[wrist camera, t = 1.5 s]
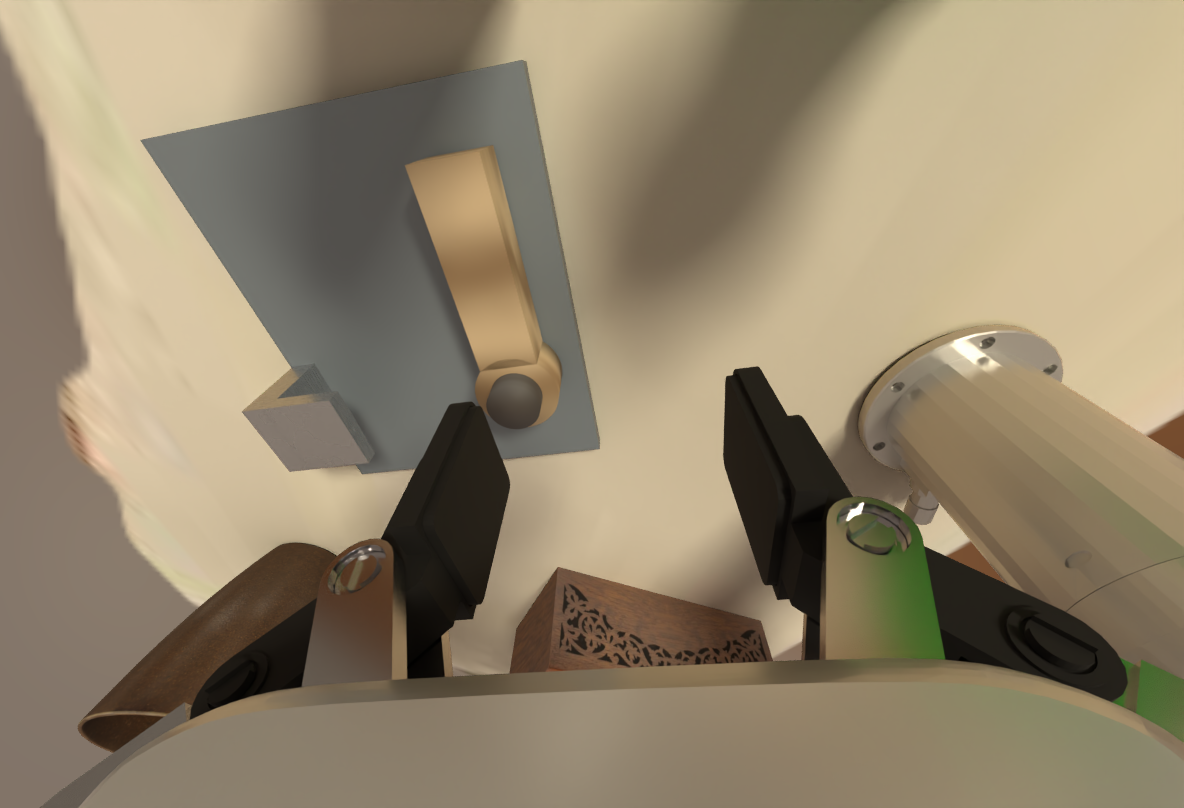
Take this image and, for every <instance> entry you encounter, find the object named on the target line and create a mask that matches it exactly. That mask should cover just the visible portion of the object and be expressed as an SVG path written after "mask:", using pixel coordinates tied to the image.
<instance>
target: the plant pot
mask: <svg viewBox="0 0 1184 808" xmlns="http://www.w3.org/2000/svg"><path fill="white" fill-rule="evenodd" d="M336 557H337V556H335V555H334V554H332V553H331V552H329V551H327V550H325V549H322V548H320V547H317V546H313V545H309V544H303V543H288V544H283V545H280V546H278V547H276V548H275V549H273V550H272V551H270V552H269V553H268V554H266V555H265V556H263V557H262V558H261V559H259V560H258V561H257V562H255V563H254V564H252V565H251V566H250V567H248V568H247V569H246V570H245V571H243V572H242V573H241V574H239V575H238V576H237V577H235V578H234V579H233V580H232V581H230V582H229V583H228V584H227V585H225V586H224V587H223V588H222V589H220V590H219V591H218V592H217V593H216V594H214V595H213V596H212V597H211V598H209V599H208V600H207V601H206V602H205V603H204V604H202V605H201V606H200V607H199V608H198V609H196V610H195V611H194V612H193V613H192V614H191V615H190V616H189V617H187V618H186V619H185V620H184V621H183V622H182V623H181V624H180V625H178V626H177V627H176V628H175V629H174V630H173V631H172V632H171V633H170V634H169V635H167V636H166V637H165V638H164V639H163V640H162V641H161V642H160V643H159V644H158V645H157V646H156V647H155V648H154V649H153V650H151V651H150V652H149V653H148V654H147V655H146V656H145V657H144V658H143V659H142V660H141V661H140V662H139V663H138V664H137V665H136V666H135V667H134V668H133V669H132V670H131V671H130V672H129V673H128V674H127V675H126V676H125V677H124V678H123V679H122V680H121V681H120V682H119V683H118V684H117V685H116V686H115V687H114V688H113V689H112V690H111V691H110V692H109V693H108V694H107V695H106V696H105V697H104V698H103V699H102V700H101V701H100V702H99V703H98V704H97V705H96V706H95V707H94V708H93V709H92V710H91V711H90V712H89V713H88V714H87V715H86V716H85V717H84V718H83V719H82V720H81V721H80V722H79V724H78V731H79V732H80V734H81V735H82V736H83V737H84V738H85V739H87V740H88V741H90V742H91V743H93V744H94V745H96V746H98V747H100V748H103V749H105V750H107V751H110V752H112V753H114V752H115V751H117V750H118V749H120V748H121V747H122V746H124V745H125V744H127V743H128V742H130V741H131V740H132V739H134V738H135V737H137V736H138V735H139V734H141V733H142V732H144V731H145V730H146V729H148V728H149V727H151V726H152V725H153V724H155V723H156V722H158V721H159V720H160V719H162V718H163V717H165V716H166V715H167V714H169V713H170V712H172V711H173V710H175V709H176V708H177V707H179V706H180V705H182V704H183V703H184V702H185V703H187V704H189V705H193V702H194V700H195V698H196V695H197V694H198V692H199V691H200V689H201V688H202V686H203V685H204V683H205V682H206V681H207V679H208V678H209V677H210V676H211V675H212V674H213V673H214V672H215V671H216V670H217V669H218V668H219V667H220V666H221V665H222V664H224V663H225V662H226V661H227V660H229V659H230V658H231V657H233V656H234V655H235V654H237V653H238V652H240V651H241V650H243V649H244V648H245V647H247V646H248V645H250V644H251V643H253V642H254V641H255V640H257V639H258V638H260V637H261V636H263V635H264V634H265V633H267V632H268V631H270V630H271V629H273V628H274V627H275V626H277V625H278V624H280V623H281V622H283V621H284V620H285V619H287V618H288V617H290V616H291V615H293V614H294V613H295V612H297V611H298V610H300V609H301V608H303V607H304V606H306V605H307V604H308V603H310V602H311V601H313V600H314V599H316V598H317V596H318V591H319V585H320V581H321V579H322V576H323V573H324V572H325V570H326V569H327V567H328V566H329V564H330V563H331V562H332V561H333V560H334V559H335V558H336Z"/></svg>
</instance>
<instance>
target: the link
mask: <svg viewBox="0 0 1184 808" xmlns="http://www.w3.org/2000/svg"><path fill="white" fill-rule="evenodd" d="M405 167H406V170H407V173H408V175H409V178H410V181H411V184H412V186H413V189H414V192H415V195H416V197H417V200H418V203H419V206H420V208H421V211H422V214H423V217H424V219H425V222H426V225H427V227H428V230H429V233H430V236H431V238H432V241H433V244H434V247H435V249H436V252H437V255H438V258H439V260H440V263H441V266H442V268H443V271H444V274H445V277H446V279H447V282H448V285H449V288H450V290H451V293H452V296H453V299H454V301H455V304H456V307H457V310H458V312H459V315H460V318H461V320H462V323H463V326H464V329H465V331H466V334H467V337H468V340H469V342H470V345H471V348H472V351H473V353H474V356H475V359H476V361H477V364H478V367H479V370H480V373H479V375H478V378H477V380H476V384H475V394H476V398H477V401H478V403H479V405H480V406H481V407H482V409H483V411H484V412H485V413H486V414H487V415H488V416H490V417H491V418H492V419H493V420H494V421H495V422H496V423H497V424H499V425H501V426H503V427H506V428H509V429H523V428H527V427H532V426H535V425H538V424H541V423H543V422H544V421H546V420H547V419H549V418H550V417H551V416H552V414H553V413H554V412H555V410H556V408H557V405H558V400H559V393H560V386H561V379H562V365H561V362H560V359H559V357H558V356H557V354H556V353H555V351H554V350H553V349H552V348H551V347H550V346H549V345H547V344H546V343H544V342H543V340H542V336H541V332H540V328H539V324H538V320H537V316H536V312H535V308H534V304H533V300H532V296H531V292H530V289H529V285H528V281H527V277H526V273H525V269H524V265H523V261H522V257H521V253H520V249H519V245H518V241H517V237H516V233H515V229H514V225H513V221H512V217H511V213H510V209H509V205H508V202H507V198H506V194H505V190H504V186H503V182H502V178H501V174H500V170H499V166H498V162H497V158H496V154H495V150H494V146H493V145H491V146H486V147H480V148H475V149H470V150H464V151H459V152H454V153H449V154H443V155H438V156H433V157H427V158H424V159H421V160H419V161H416V162H413V163H410V164H407V165H405Z"/></svg>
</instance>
